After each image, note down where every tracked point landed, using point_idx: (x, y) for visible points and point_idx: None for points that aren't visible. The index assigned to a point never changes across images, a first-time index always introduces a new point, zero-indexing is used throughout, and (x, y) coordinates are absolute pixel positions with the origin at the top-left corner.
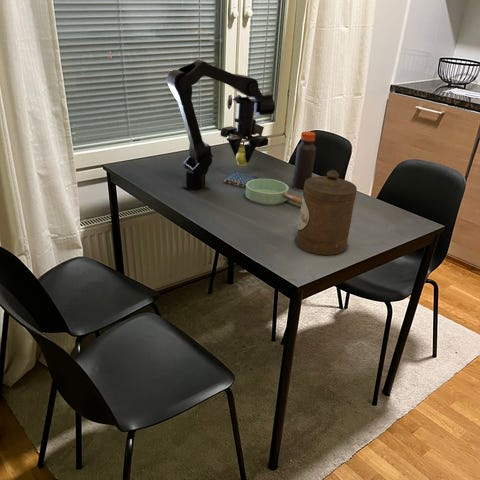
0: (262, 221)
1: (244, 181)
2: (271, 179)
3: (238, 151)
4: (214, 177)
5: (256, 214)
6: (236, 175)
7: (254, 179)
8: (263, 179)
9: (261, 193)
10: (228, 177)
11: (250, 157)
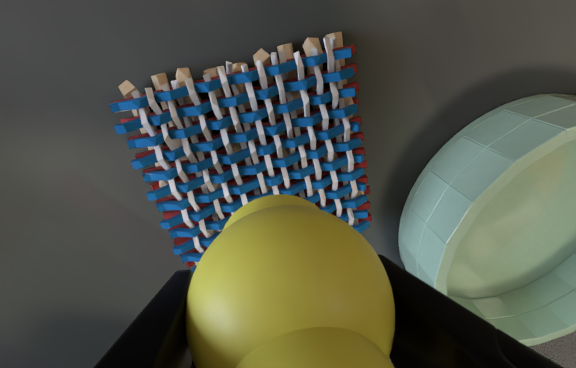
0: (566, 360)
1: (332, 211)
2: (563, 139)
3: (169, 359)
4: (62, 239)
5: (531, 346)
6: (198, 171)
7: (450, 241)
8: (504, 186)
9: (562, 332)
10: (200, 248)
11: (433, 298)
